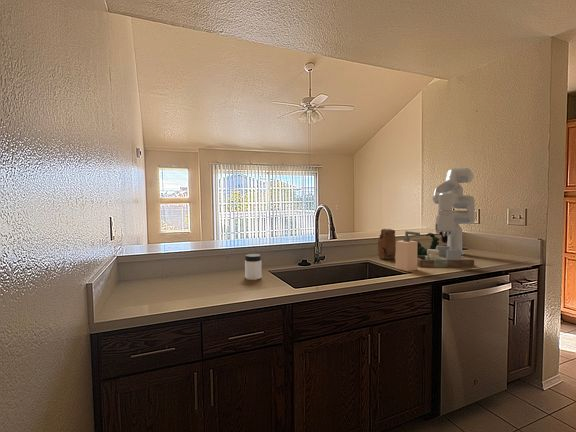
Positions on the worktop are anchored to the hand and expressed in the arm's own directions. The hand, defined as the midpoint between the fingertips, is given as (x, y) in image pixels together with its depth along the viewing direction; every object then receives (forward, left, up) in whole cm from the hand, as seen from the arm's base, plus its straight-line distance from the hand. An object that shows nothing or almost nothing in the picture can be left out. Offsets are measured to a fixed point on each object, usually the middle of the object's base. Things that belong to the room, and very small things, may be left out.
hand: (444, 242), depth 199 cm
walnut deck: (+1, -2, -13) cm, 14 cm away
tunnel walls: (+1, +2, -9) cm, 10 cm away
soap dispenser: (+15, -27, -14) cm, 34 cm away
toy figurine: (-21, -6, -14) cm, 26 cm away
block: (-18, -30, -14) cm, 38 cm away
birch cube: (+1, -8, -9) cm, 12 cm away
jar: (+32, -115, -14) cm, 121 cm away
